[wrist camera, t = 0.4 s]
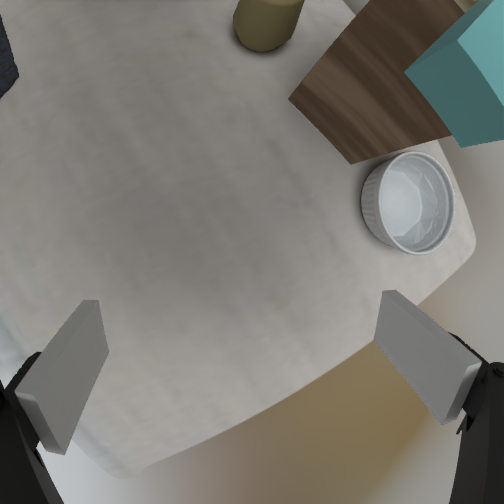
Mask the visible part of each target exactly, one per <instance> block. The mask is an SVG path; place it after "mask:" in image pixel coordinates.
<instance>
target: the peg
mask: <svg viewBox="0 0 504 504" xmlns="http://www.w3.org/2000/svg"><path fill="white" fill-rule="evenodd" d="M404 73H405V74H406V75H407V77H408V78H409V79H410V80H411V81H412V82H413V84H414V85H415V86H416V87H417V88H418V90H419V91H420V92H421V93H422V95H423V96H424V97H425V98H426V100H427V101H428V102H429V103H430V105H431V106H432V107H433V109H434V110H435V111H436V113H437V114H438V115H439V117H440V118H441V119H442V121H443V122H444V124H445V125H446V126H447V128H448V129H449V131H450V132H451V134H452V135H453V136H454V138H455V139H456V141H457V142H458V143H459V145H460V147H461V148H463V147H467V146H472V145H478V144H482V143H488V142H493V141H498V140H504V0H478V1H477V2H476V3H475V4H474V5H473V6H472V7H471V8H470V9H469V10H468V11H467V12H466V13H465V14H464V15H463V16H461V17H460V18H459V19H458V20H457V21H456V22H455V23H454V24H453V25H452V26H451V27H450V28H449V29H448V30H447V31H446V32H445V33H444V34H443V35H442V36H441V37H440V38H438V39H437V40H436V41H435V42H434V43H433V44H432V45H431V46H430V47H429V48H428V49H427V50H426V51H425V52H424V53H423V54H422V55H421V56H420V57H419V58H418V59H417V60H416V61H415V62H414V63H413V64H412V65H411V66H410V67H409V68H408V69H407V70H406V71H405V72H404Z"/></svg>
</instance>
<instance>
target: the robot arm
mask: <svg viewBox="0 0 504 504" xmlns="http://www.w3.org/2000/svg"><path fill="white" fill-rule="evenodd" d="M374 341H375V343H376V344H377V345H378V346H379V347H380V349H381V350H382V351H383V352H384V354H385V355H386V356H387V357H388V358H389V360H390V361H391V362H392V363H393V364H394V366H395V367H396V368H397V369H398V371H399V372H400V373H401V374H402V376H403V377H404V378H405V379H406V381H407V382H408V383H409V384H410V386H411V387H412V388H413V390H414V391H415V392H416V393H417V395H418V396H419V397H420V398H421V400H422V401H423V402H424V403H425V405H426V406H427V407H428V409H429V410H430V411H431V412H432V414H433V415H434V416H435V417H436V419H437V420H438V421H439V423H440V424H441V425H444V424H447V423H449V422H452V421H454V420H456V419H457V417H458V415H459V413H460V411H461V409H462V408H463V409H464V411H465V412H466V415H465V417H464V419H463V421H462V423H461V425H460V427H459V428H458V431H457V433H456V434H459V432H460V431H461V430H462V436H461V443H460V450H459V457H458V463H457V469H456V474H455V479H454V484H453V489H452V493H451V498H450V502H449V504H504V363H501V362H493V363H490V364H489V363H488V362H487V361H486V360H484V358H482V357H481V356H480V355H479V354H478V353H477V352H475V351H474V350H473V349H471V348H470V347H469V346H468V345H467V344H465V342H464V341H462V340H461V339H460V338H459V337H458V336H456V335H454V334H451V333H449V332H447V331H446V330H445V329H443V328H442V327H441V326H439V324H437V323H436V322H435V321H434V320H433V319H431V318H430V317H429V316H428V315H426V314H425V313H424V312H423V311H422V310H420V309H419V308H418V307H417V306H415V305H414V304H413V303H412V302H410V301H409V300H408V299H407V298H405V297H404V296H403V295H402V294H400V293H399V292H398V291H397V290H388V291H383V292H382V298H381V304H380V309H379V315H378V320H377V325H376V331H375V335H374ZM108 353H109V349H108V345H107V341H106V336H105V331H104V327H103V322H102V317H101V312H100V306H99V301H98V300H83V301H82V302H81V304H80V305H79V306H78V307H77V309H76V310H75V311H74V312H73V313H72V315H71V316H70V317H69V318H68V320H67V321H66V322H65V323H64V325H63V326H62V327H61V328H60V330H59V331H58V332H57V333H56V335H55V336H54V337H53V339H52V340H51V341H50V343H49V344H48V345H47V346H46V348H45V349H44V350H43V352H36V353H35V354H33V355H32V356H30V357H29V358H28V359H27V360H26V361H25V363H24V364H23V365H22V368H20V369H19V370H18V372H17V374H15V376H14V377H13V378H12V380H11V381H10V383H9V384H8V385H7V387H6V388H5V389H4V387H3V385H2V383H1V380H0V504H64V503H63V501H62V499H61V497H60V495H59V493H58V491H57V489H56V487H55V485H54V483H53V482H52V480H51V477H50V475H49V473H48V471H47V469H46V467H45V465H44V462H43V460H42V458H41V456H40V454H39V452H38V450H37V449H36V447H37V445H38V443H39V441H41V443H42V445H43V446H44V448H45V450H46V451H48V452H52V453H57V454H61V455H65V453H66V450H67V448H68V446H69V443H70V440H71V438H72V435H73V433H74V431H75V428H76V426H77V423H78V421H79V418H80V416H81V414H82V411H83V409H84V406H85V404H86V402H87V400H88V397H89V395H90V393H91V390H92V388H93V386H94V384H95V381H96V379H97V377H98V375H99V373H100V371H101V368H102V366H103V364H104V362H105V360H106V358H107V356H108Z"/></svg>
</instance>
